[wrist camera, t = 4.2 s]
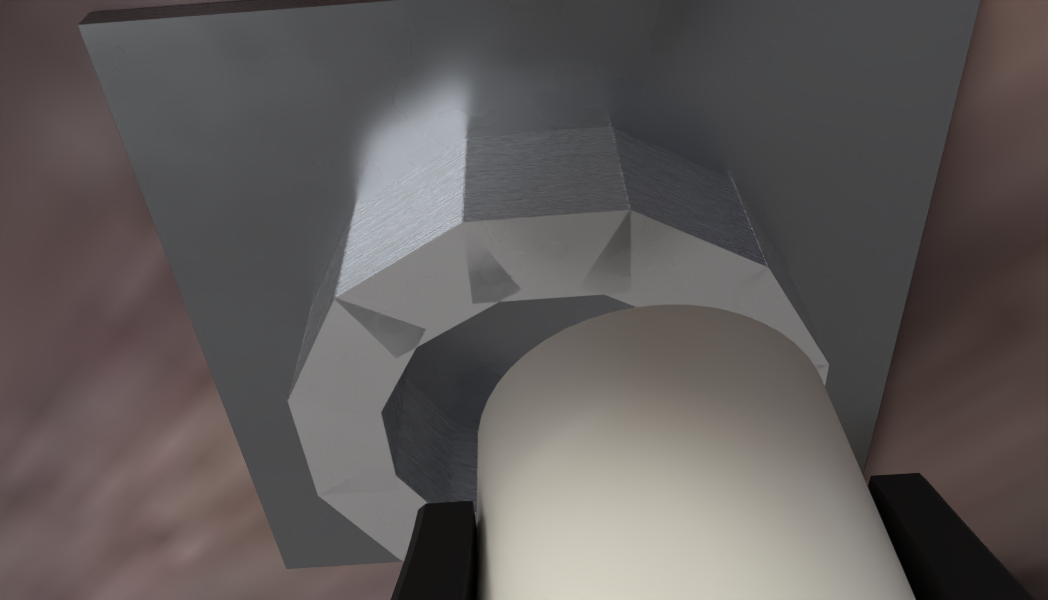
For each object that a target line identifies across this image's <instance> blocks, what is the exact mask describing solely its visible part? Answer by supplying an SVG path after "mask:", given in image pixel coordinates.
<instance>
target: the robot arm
mask: <svg viewBox="0 0 1048 600" xmlns="http://www.w3.org/2000/svg"><path fill="white" fill-rule="evenodd" d="M868 489H869V491H870V494H871V496H872V498H873V501H874V503H875V505H876V508H877V510H878V512H879V515H880V517H881V519H882V522H883V524H884V526H885V529H886V531H887V533H888V536H889V538H890V540H891V543H892V545H893V547H894V550H895V552H896V554H897V557H898V559H899V561H900V564H901V566H902V568H903V571H904V573H905V575H906V578H907V580H908V582H909V585H910V587H911V589H912V592H913V594H914V596H915V599H916V600H1035V598H1034V597H1033V596H1032V595H1031V594H1030V593H1029V592H1028V591H1027V590H1026V589H1025V588H1024V587H1023V586H1022V585H1021V584H1020V583H1019V582H1018V581H1017V580H1016V579H1015V578H1014V576H1013V575H1012V574H1011V573H1010V572H1009V571H1008V570H1007V569H1006V568H1005V567H1004V566H1003V565H1002V564H1001V562H1000V561H999V560H998V559H997V558H996V557H995V556H994V555H993V554H992V553H991V551H990V550H989V549H988V548H987V547H986V546H985V545H984V544H983V543H982V542H981V541H980V539H979V538H978V537H977V536H976V535H975V534H974V533H973V532H972V531H971V529H970V528H969V527H968V526H967V525H966V524H965V523H964V522H963V520H962V519H961V518H960V517H959V516H958V515H957V514H956V513H955V511H954V510H953V509H952V508H951V507H950V506H949V505H948V504H947V502H946V501H945V500H944V499H943V498H942V497H941V496H940V495H939V493H938V492H937V491H936V490H935V489H934V488H933V487H932V486H931V484H930V483H929V482H928V481H927V480H926V479H925V478H924V477H923V476H922V475H921V474H920V473H910V474H894V475H878V476H871V478H870V481H869V485H868ZM476 553H477V526H476V519H475V512H474V505H473V501H458V502H441V503H426V504H424V505H423V506H422V507H421V508H420V509H418V512H417V516H416V520H415V525H414V529H413V533H412V536H411V540H410V543H409V547H408V550H407V554H406V557H405V560H404V563H403V566H402V569H401V572H400V575H399V578H398V581H397V584H396V586H395V589H394V592H393V595H392V598H391V600H476Z"/></svg>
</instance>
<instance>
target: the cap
mask: <svg viewBox="0 0 1048 600" xmlns="http://www.w3.org/2000/svg"><path fill="white" fill-rule="evenodd" d="M476 600H916V599H915V596H914V594H913V592H912V589H911V587H910V585H909V582H908V580H907V578H906V575H905V573H904V571H903V568H902V566H901V564H900V561H899V559H898V557H897V554H896V552H895V550H894V547H893V545H892V543H891V540H890V538H889V536H888V533H887V531H886V529H885V526H884V524H883V522H882V519H881V517H880V515H879V512H878V510H877V508H876V505H875V503H874V501H873V498H872V496H871V494H870V491H869V489H868V486H867V484H866V482H865V479H864V477H863V475H862V472H861V470H860V468H859V465H858V463H857V461H856V458H855V456H854V454H853V451H852V449H851V447H850V444H849V442H848V440H847V437H846V435H845V433H844V430H843V428H842V426H841V423H840V421H839V419H838V416H837V414H836V412H835V409H834V407H833V405H832V402H831V400H830V398H829V395H828V393H827V391H826V388H825V386H824V384H823V381H822V379H821V377H820V374H819V372H818V370H817V369H816V367H815V366H814V364H813V363H812V361H811V360H810V359H809V357H808V356H807V355H806V354H805V353H804V352H803V351H802V350H801V349H800V348H799V347H798V346H797V345H796V344H795V343H794V342H793V341H791V340H790V339H789V338H787V337H786V336H785V335H783V334H782V333H781V332H779V331H777V330H775V329H774V328H772V327H770V326H768V325H766V324H764V323H762V322H760V321H758V320H755V319H753V318H750V317H747V316H744V315H742V314H739V313H735V312H731V311H727V310H723V309H718V308H713V307H705V306H697V305H671V304H664V305H653V306H641V307H635V308H630V309H625V310H619V311H614V312H611V313H607V314H604V315H601V316H597V317H594V318H590V319H588V320H585V321H583V322H580V323H578V324H576V325H573V326H571V327H568V328H566V329H564V330H562V331H561V332H559V333H557V334H555V335H553V336H551V337H550V338H548V339H546V340H544V341H543V342H542V343H540V344H539V345H537V346H536V347H535V348H533V349H532V350H530V351H529V352H527V353H526V354H525V355H524V356H523V357H522V358H521V359H520V360H519V361H517V362H516V363H515V364H514V365H513V366H512V367H511V368H510V369H509V370H508V371H507V373H506V374H505V375H504V376H503V377H502V379H501V380H500V381H499V382H498V384H497V385H496V387H495V389H494V390H493V392H492V394H491V395H490V397H489V398H488V401H487V403H486V406H485V408H484V411H483V413H482V415H481V420H480V425H479V430H478V465H477V553H476Z"/></svg>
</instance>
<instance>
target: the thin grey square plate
mask: <svg viewBox="0 0 1048 600" xmlns="http://www.w3.org/2000/svg"><path fill="white" fill-rule="evenodd" d="M979 4H980V0H245V1H232V2H219V3H206V4H193V5H180V6H168V7H155V8H142V9H129V10H116V11H103V12H90V13H89V14H88V15H87V16H86V17H85V18H84V19H83V20H82V21H81V22H80V23H79V24H78V27H79V30H80V32H81V35H82V38H83V40H84V43H85V46H86V48H87V51H88V53H89V56H90V59H91V61H92V64H93V66H94V69H95V72H96V74H97V77H98V79H99V82H100V85H101V87H102V90H103V92H104V95H105V98H106V100H107V103H108V105H109V108H110V111H111V113H112V116H113V118H114V121H115V124H116V126H117V129H118V131H119V134H120V137H121V139H122V142H123V144H124V147H125V150H126V152H127V155H128V157H129V160H130V163H131V165H132V168H133V170H134V173H135V176H136V178H137V181H138V184H139V186H140V189H141V191H142V194H143V197H144V199H145V202H146V204H147V207H148V210H149V212H150V215H151V217H152V220H153V223H154V225H155V228H156V230H157V233H158V236H159V238H160V241H161V243H162V246H163V249H164V251H165V254H166V256H167V259H168V262H169V264H170V267H171V269H172V272H173V275H174V277H175V280H176V282H177V285H178V288H179V290H180V293H181V295H182V298H183V301H184V303H185V306H186V308H187V311H188V314H189V316H190V319H191V322H192V324H193V327H194V329H195V332H196V335H197V337H198V340H199V342H200V345H201V348H202V350H203V353H204V355H205V358H206V361H207V363H208V366H209V368H210V371H211V374H212V376H213V379H214V381H215V384H216V387H217V389H218V392H219V394H220V397H221V400H222V402H223V405H224V407H225V410H226V413H227V415H228V418H229V420H230V423H231V426H232V428H233V431H234V433H235V436H236V439H237V441H238V444H239V446H240V449H241V452H242V454H243V457H244V460H245V462H246V465H247V467H248V470H249V473H250V475H251V478H252V480H253V483H254V486H255V488H256V491H257V493H258V496H259V499H260V501H261V504H262V506H263V509H264V512H265V514H266V517H267V519H268V522H269V525H270V527H271V530H272V532H273V535H274V538H275V540H276V543H277V545H278V548H279V551H280V553H281V556H282V558H283V561H284V564H285V566H286V569H294V568H309V567H325V566H340V565H356V564H371V563H386V562H402V561H404V560H405V557H406V554H407V550H408V547H409V543H410V540H411V536H412V533H413V529H414V525H415V520H416V516H417V512H418V509H420V508H421V507H422V506H423V505H424V504H426V503H441V502H458V501H473V505H474V512H475V519H476V526H477V465H478V430H479V425H480V420H481V415H482V413H483V411H484V408H485V406H486V403H487V401H488V398H489V397H490V395H491V394H492V392H493V390H494V389H495V387H496V385H497V384H498V382H499V381H500V380H501V379H502V377H503V376H504V375H505V374H506V373H507V371H508V370H509V369H510V368H511V367H512V366H513V365H514V364H515V363H516V362H517V361H519V360H520V359H521V358H522V357H523V356H524V355H525V354H526V353H527V352H529V351H530V350H532V349H533V348H535V347H536V346H537V345H539V344H540V343H542V342H543V341H544V340H546V339H548V338H550V337H551V336H553V335H555V334H557V333H559V332H561V331H562V330H564V329H566V328H568V327H571V326H573V325H576V324H578V323H580V322H583V321H585V320H588V319H590V318H594V317H597V316H601V315H604V314H607V313H611V312H614V311H619V310H625V309H630V308H635V307H641V306H653V305H664V304H671V305H697V306H705V307H713V308H718V309H723V310H727V311H731V312H735V313H739V314H742V315H744V316H747V317H750V318H753V319H755V320H758V321H760V322H762V323H764V324H766V325H768V326H770V327H772V328H774V329H775V330H777V331H779V332H781V333H782V334H783V335H785V336H786V337H787V338H789V339H790V340H791V341H793V342H794V343H795V344H796V345H797V346H798V347H799V348H800V349H801V350H802V351H803V352H804V353H805V354H806V355H807V356H808V357H809V359H810V360H811V361H812V363H813V364H814V366H815V367H816V369H817V370H818V372H819V374H820V377H821V379H822V381H823V384H824V386H825V388H826V391H827V393H828V395H829V398H830V400H831V402H832V405H833V407H834V409H835V412H836V414H837V416H838V419H839V421H840V423H841V426H842V428H843V430H844V433H845V435H846V437H847V440H848V442H849V444H850V447H851V449H852V451H853V454H854V456H855V458H856V461H857V463H858V465H859V468H860V470H861V472H862V475H863V473H864V469H865V465H866V461H867V456H868V452H869V448H870V444H871V440H872V436H873V432H874V428H875V424H876V420H877V416H878V412H879V408H880V404H881V400H882V396H883V392H884V388H885V384H886V380H887V376H888V372H889V368H890V364H891V360H892V356H893V352H894V347H895V343H896V339H897V335H898V331H899V327H900V323H901V319H902V315H903V311H904V307H905V303H906V299H907V295H908V291H909V287H910V283H911V279H912V275H913V271H914V267H915V263H916V259H917V255H918V251H919V247H920V243H921V239H922V234H923V230H924V226H925V222H926V218H927V214H928V210H929V206H930V202H931V198H932V194H933V190H934V186H935V182H936V178H937V174H938V170H939V166H940V162H941V158H942V154H943V150H944V146H945V142H946V138H947V134H948V130H949V125H950V121H951V117H952V113H953V109H954V105H955V101H956V97H957V93H958V89H959V85H960V81H961V77H962V73H963V69H964V65H965V61H966V57H967V53H968V49H969V45H970V41H971V37H972V33H973V29H974V25H975V21H976V16H977V12H978V8H979Z"/></svg>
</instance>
